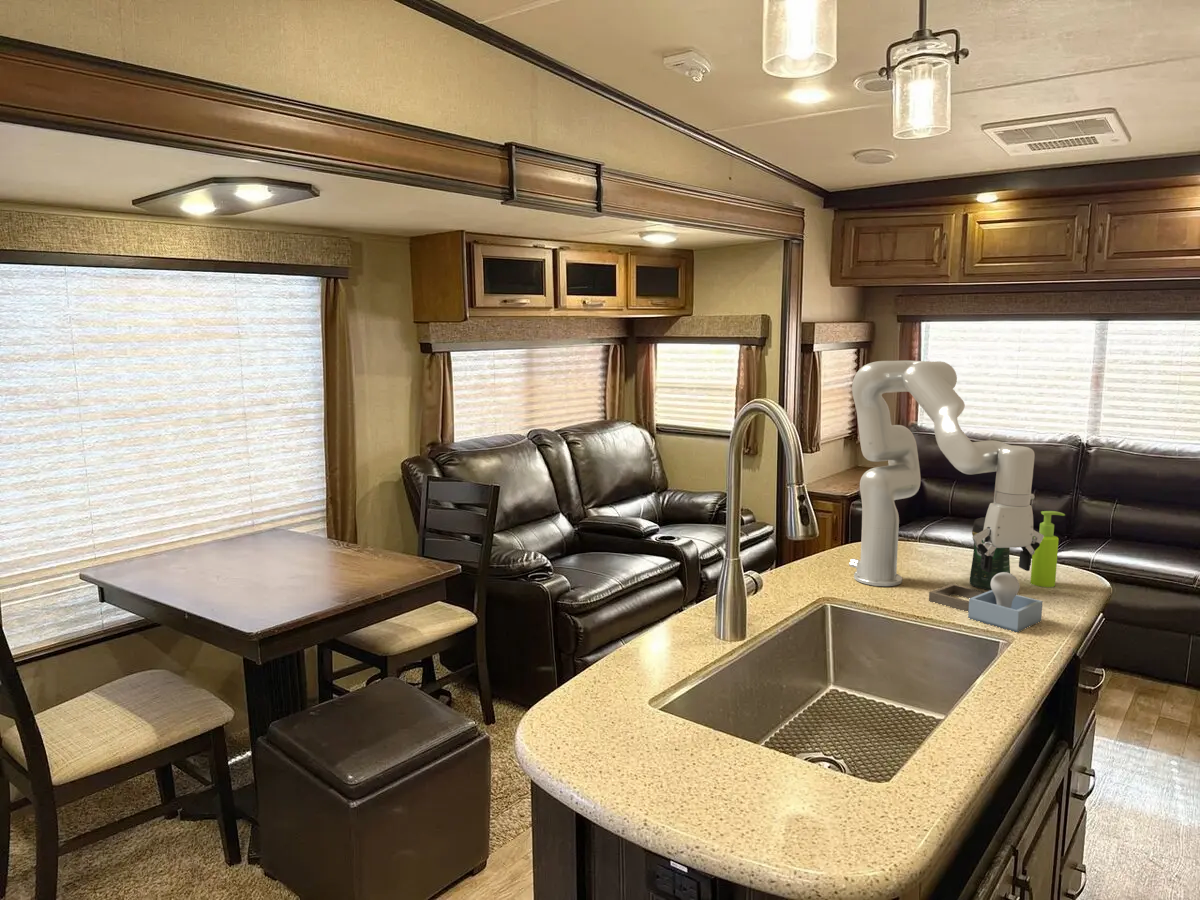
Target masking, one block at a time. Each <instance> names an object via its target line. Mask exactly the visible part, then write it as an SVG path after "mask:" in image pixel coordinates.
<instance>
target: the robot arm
mask: <svg viewBox="0 0 1200 900" xmlns="http://www.w3.org/2000/svg"><path fill="white" fill-rule="evenodd" d="M957 376H958V375H957V372H956V371H955V368H954V367H953V366H952V365H950V364H949V363H948V362H945V361H941V360H938V361H930V360H929V361H925V360H878V361H873V362H869V363H867V364H865V365H863V366H861V368H859V369H858V371H857V372H856V373H855V375H854V377H853V380H852V384H851V385H852V386H851V394H852V398H853V401H854V406H855V411H856V416H857V426H858V435H859V436H858V437H859V443H860V448H861V449H860V450H861V453H862V456H863V457H864V458H865V459H866V460H867V461H868V462H869V461H870V462H878V463H879V462H887V461H888V462H887V463H888V464H887V465H882V466H875V467H873V468H872V467H871V468H870V469H868V470H866V471H865V472H864V473H863V474H862V476H861V477H860V480H859V493H860V498H861V506H862V507H861V510H862V511H861V539H860V540H861V541H860V542H861V543H860V559H857V558H851V559H850V562H849V567H851V568H855V569H856V571H855V572H854V574H853V578H854V580H855V581H857V582H858V583H862V584H865V585H868V586H873V587H894V586H895V587H896V586H899V585H901V584H902V582H903V577H902V576H901V575H900V574H898V573H897V570H898V568H897V567H898V549H899V546H898V545H899V526H900V525H899V524H900V517H899V516H900V515H899V512H898V509H897V506H896V503H895V501H896V500H897V501H898V500H902V499H903V500H904V499H908V498H911V497H913V496H915V495H917V493H918V492H919V489H920V487H921V482H922V481H921V479H922V478H921V468H920V461H919V453H918V446H917V440H916V438H915V435H914V434H913V433H912V431H911V430H910V429H909V428H908V427H906V426H905V425H901V424H892V419H891V412H890V408H889V405H888V403H887V402H886V400H885V399H884V397H883V394H886V393H900V392H901V393H902V392H903V393H904V392H906V393H907V392H908V393H909V394H911V396H912V397H913V398H914V400H915V401H916V402H917V404H918V405H919V406H920V407H921V409H923V411H924V412H925V413H926V415H927V416H928V417H929V418H930V419H931V421H932V422H933V424H934V427H933V429H934V431H933V432H934V435H935V441H936V443H937V446H938V448H939V450H940V451H941V453H942V455H944V457H945V458H946V459H947V460H948V462H949V463H950V464H951V465H952V466H953V467H954V468H955V469H956V470H957V471H959V472H961V473H962V474H965V475H978V474H987V473H994V472H996V475H995V484H994V493H993V495H994V496H993V502H990V503H989V505H988V508H987V511H986V515H985V517H984V518H985V523H984V529H983V531H981V532H979V533H977V534H975V535H974V536H973V535H972V537H971V538H972V541H973V544H974V543H975V546H976V548H977V549H978V550H979V552H981V569H983V570H984V571H986V572H991V570H992V560H993V557H992V556H991V553H992V552H993V551H994V550H995V549H996V548H1010V549H1014V548H1020V549H1021V550H1020V553H1019V557H1018V558H1019V560H1018V561H1019V562H1018V567H1019V568H1020V569H1022V570H1023V571H1026V572H1029V571H1030V570H1031V566H1032V555H1033V554H1034V553H1035V550H1036V549H1037V548H1038V547H1039V546H1040V543H1041V541H1042V540H1043V538H1044V535H1042V534H1040V533H1039V531H1036V530H1035V529H1034V514H1033V513H1034V512H1033V507H1032V505H1030V504H1031V500H1034V499H1035V494H1034V493H1032V485H1033V478H1034V466H1035V451H1034V449H1033V448H1031V447H1028V446H1022V445H1012V444H1010V443H1009V444H1008V443H1005V442H1002V441H999V440H995V439H994V440H992V439H991V440H989V439H987V440H981V441H972V440H971V439H970V438H969V437H968V436H967V434H966V433H964V431H963V429H962V428H961V426H960V424H959V420H958V418H959V416H960V415H961V414H962V413H963V412H964V410H965V401H964V400H963V399H962V398H961V396H959V394H958V393H957V392H956V391H955V390H954V389H955V387H956V384H957V382H958V381H957V379H958V377H957ZM982 539H983V542H985V543H984V545H983V544H982ZM1030 572H1031V571H1030Z"/></svg>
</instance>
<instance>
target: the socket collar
mask: <svg viewBox="0 0 1200 900" xmlns="http://www.w3.org/2000/svg"><path fill="white" fill-rule="evenodd" d="M985 592H986V591H984V590H983V591H982V590H979V589H976V588H975V589H974V588H971V587H968V586H963V585H959V584H955V583H950V584H947V585H945V586H942V587H940V588H939V587H938V588H936V589H933V590H931V591H929V592H928V602H929V601H930V602H929V603H933V602H935V603H934V604H936V603H938V604H937V605H940V604H942V605H941V606H944V605H946V606H945V607H947V606H950V607H949V608H951V607H952V608H951V609H954V608H956V609H955V610H958V609H960V610H959V611H961V610H964V611H963V612H965V611H969V600H966V599H969V598H972V597H975V596H977V595H980V594H982V593H985ZM953 594H955V595H953ZM950 595H951V596H950ZM957 595H959V596H958V597H959V598H958V597H955V596H957ZM961 596H963V597H962V598H965V597H967V598H966V599H962V598H960V597H961Z"/></svg>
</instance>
